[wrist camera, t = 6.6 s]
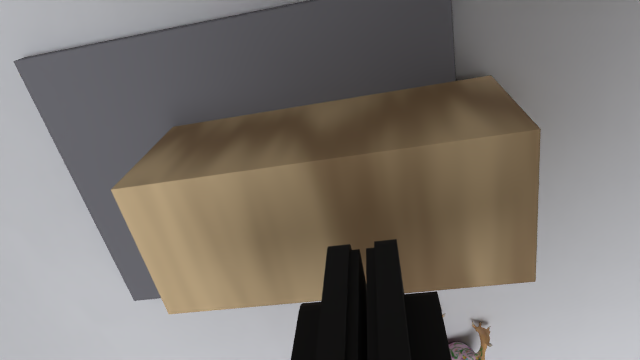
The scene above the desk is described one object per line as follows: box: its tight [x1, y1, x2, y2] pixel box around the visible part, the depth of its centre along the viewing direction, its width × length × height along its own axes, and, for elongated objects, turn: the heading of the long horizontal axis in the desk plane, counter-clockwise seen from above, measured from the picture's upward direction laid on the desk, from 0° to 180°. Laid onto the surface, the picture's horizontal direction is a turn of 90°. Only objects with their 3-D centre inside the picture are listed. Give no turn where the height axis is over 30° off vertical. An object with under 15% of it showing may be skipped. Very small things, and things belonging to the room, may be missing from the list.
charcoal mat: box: [14, 0, 456, 301], centre depth 19 cm, size 16×12×1 cm
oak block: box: [111, 75, 541, 314], centre depth 16 cm, size 5×5×12 cm
